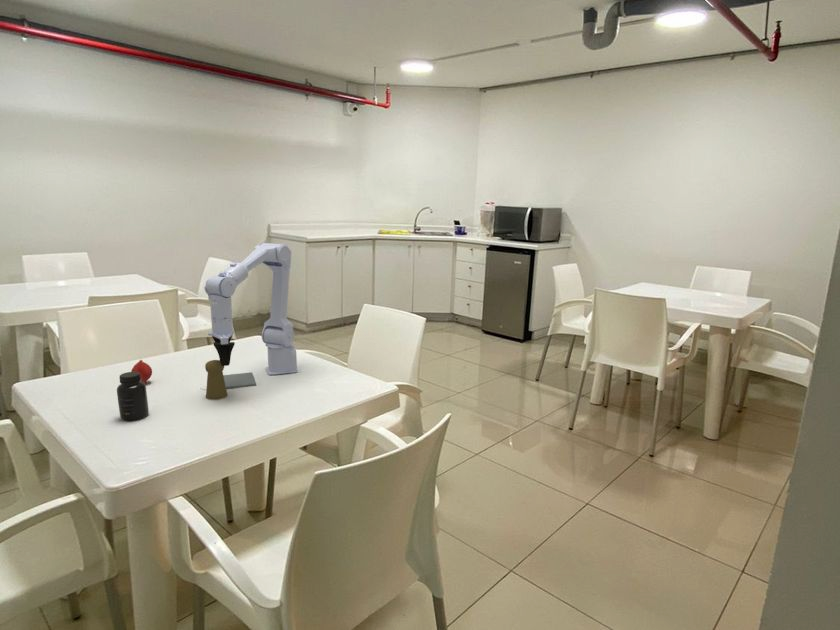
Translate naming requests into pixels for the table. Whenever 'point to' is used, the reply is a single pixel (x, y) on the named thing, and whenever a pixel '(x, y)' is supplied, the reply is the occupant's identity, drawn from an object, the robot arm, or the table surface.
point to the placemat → (239, 380)
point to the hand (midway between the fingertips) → (224, 361)
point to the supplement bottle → (132, 397)
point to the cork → (215, 380)
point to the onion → (143, 370)
